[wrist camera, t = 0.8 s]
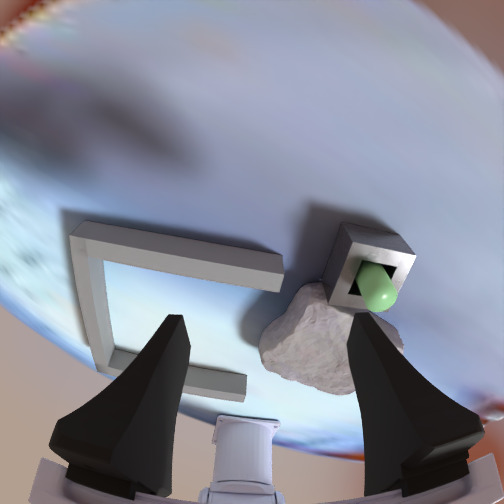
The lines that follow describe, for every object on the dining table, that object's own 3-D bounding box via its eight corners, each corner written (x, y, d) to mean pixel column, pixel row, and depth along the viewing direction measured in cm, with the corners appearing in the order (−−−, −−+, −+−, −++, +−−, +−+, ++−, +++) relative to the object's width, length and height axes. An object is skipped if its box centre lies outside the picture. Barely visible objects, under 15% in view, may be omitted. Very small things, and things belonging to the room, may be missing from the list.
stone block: (336, 367, 32) (407, 324, 26) (335, 404, 28) (415, 366, 22) (248, 323, 29) (316, 263, 23) (238, 365, 25) (315, 311, 19)
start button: (372, 279, 22) (388, 313, 18) (346, 274, 22) (360, 310, 18) (383, 254, 21) (402, 287, 17) (356, 249, 21) (373, 282, 17)
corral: (244, 383, 30) (243, 402, 28) (104, 354, 29) (97, 371, 27) (282, 255, 22) (284, 274, 20) (84, 220, 21) (69, 235, 19)
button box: (376, 288, 24) (387, 312, 21) (321, 279, 23) (327, 304, 21) (400, 235, 21) (416, 255, 18) (341, 221, 21) (352, 241, 18)
